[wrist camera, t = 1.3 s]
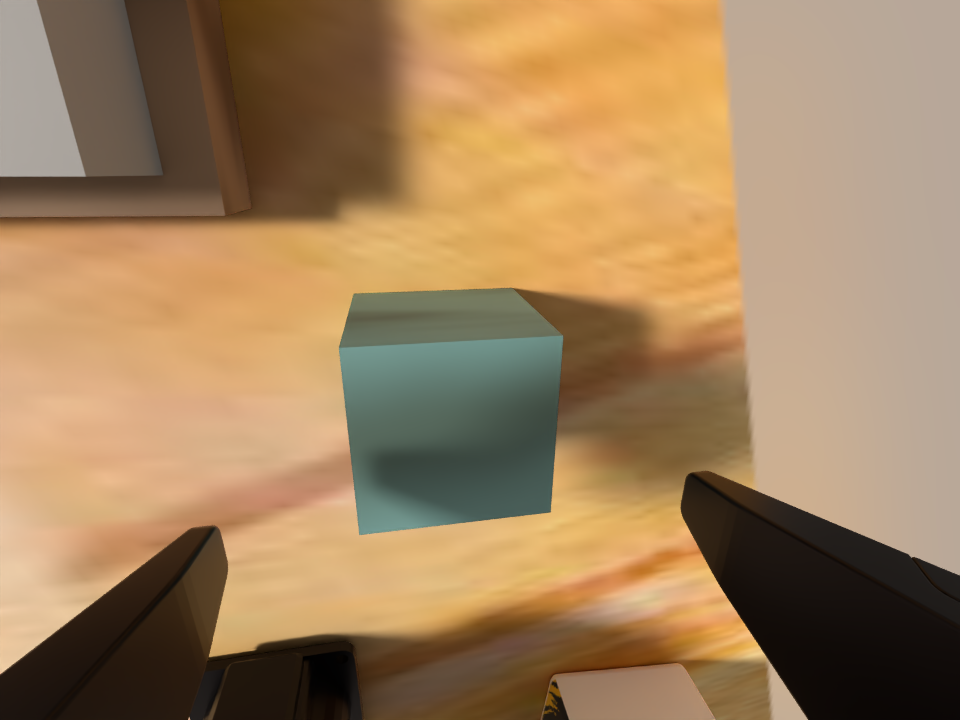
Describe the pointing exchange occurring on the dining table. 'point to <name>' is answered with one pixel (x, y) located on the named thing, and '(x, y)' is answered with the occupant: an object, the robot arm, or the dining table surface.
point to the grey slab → (72, 92)
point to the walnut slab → (163, 128)
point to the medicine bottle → (626, 695)
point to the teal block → (449, 407)
